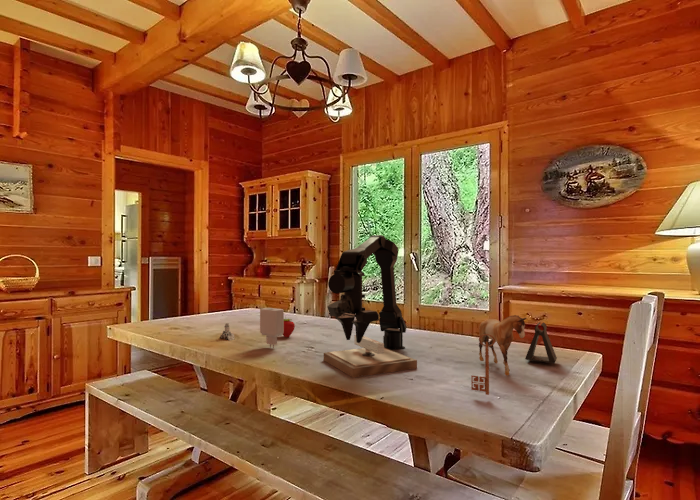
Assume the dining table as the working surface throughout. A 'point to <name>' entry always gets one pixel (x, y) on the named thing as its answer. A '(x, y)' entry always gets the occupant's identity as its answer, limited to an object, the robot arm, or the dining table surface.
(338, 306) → the robot arm
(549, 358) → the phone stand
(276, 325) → the charger
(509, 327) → the horse figurine
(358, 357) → the brown square tray
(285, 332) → the strawberry
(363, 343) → the T-key
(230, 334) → the grey stone figurine
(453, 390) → the dining table surface
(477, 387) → the key
